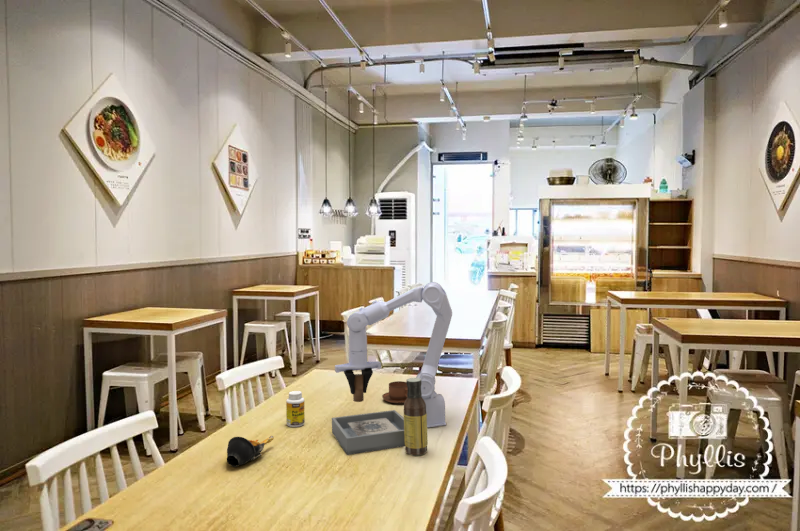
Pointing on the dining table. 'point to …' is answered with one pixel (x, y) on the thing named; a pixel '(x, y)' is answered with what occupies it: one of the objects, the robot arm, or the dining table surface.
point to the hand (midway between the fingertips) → (358, 392)
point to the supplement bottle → (295, 409)
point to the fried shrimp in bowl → (244, 450)
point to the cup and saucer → (396, 392)
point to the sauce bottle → (415, 419)
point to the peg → (358, 388)
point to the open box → (371, 440)
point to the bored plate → (370, 427)
